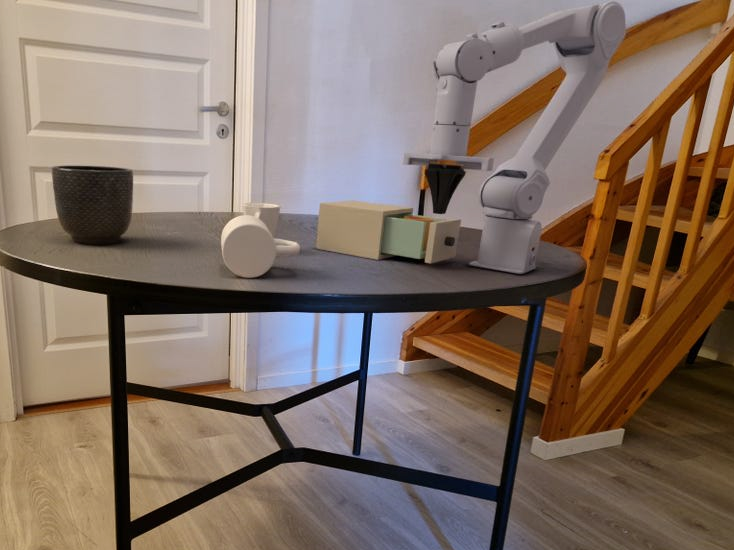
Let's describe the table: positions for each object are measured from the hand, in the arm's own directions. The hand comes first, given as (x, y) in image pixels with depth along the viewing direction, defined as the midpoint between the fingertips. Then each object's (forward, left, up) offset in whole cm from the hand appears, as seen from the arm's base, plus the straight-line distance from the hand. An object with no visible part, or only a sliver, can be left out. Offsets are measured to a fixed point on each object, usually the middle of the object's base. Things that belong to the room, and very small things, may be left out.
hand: (439, 213), depth 102 cm
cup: (+29, +11, -10) cm, 33 cm away
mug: (+17, +25, -10) cm, 32 cm away
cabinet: (+17, -6, -9) cm, 20 cm away
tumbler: (+6, -6, -7) cm, 11 cm away
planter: (+53, +29, -10) cm, 61 cm away
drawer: (+6, -5, -8) cm, 12 cm away
